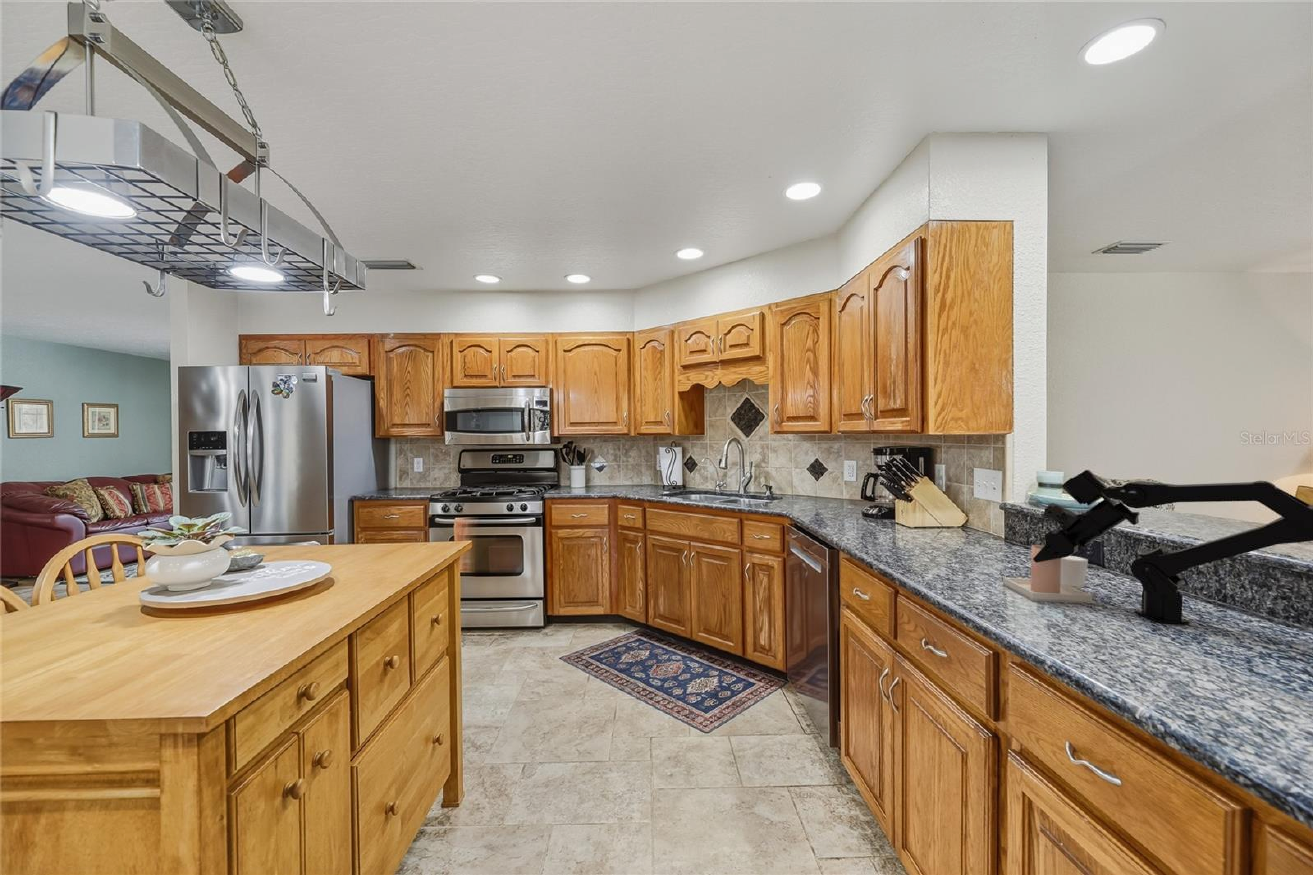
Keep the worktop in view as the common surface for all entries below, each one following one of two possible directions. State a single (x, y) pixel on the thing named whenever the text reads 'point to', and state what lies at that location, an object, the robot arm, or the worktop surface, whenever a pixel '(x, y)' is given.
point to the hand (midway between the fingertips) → (1040, 558)
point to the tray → (1065, 595)
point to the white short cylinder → (1073, 571)
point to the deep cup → (1045, 573)
